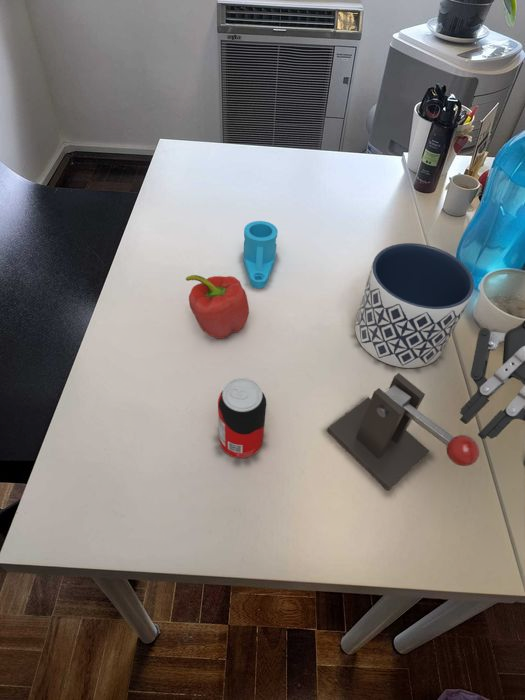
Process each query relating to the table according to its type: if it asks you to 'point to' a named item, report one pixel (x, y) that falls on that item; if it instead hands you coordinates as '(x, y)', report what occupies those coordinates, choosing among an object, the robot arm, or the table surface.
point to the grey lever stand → (382, 434)
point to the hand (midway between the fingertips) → (472, 429)
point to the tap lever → (438, 431)
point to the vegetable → (219, 304)
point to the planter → (412, 304)
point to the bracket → (259, 251)
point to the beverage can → (241, 417)
